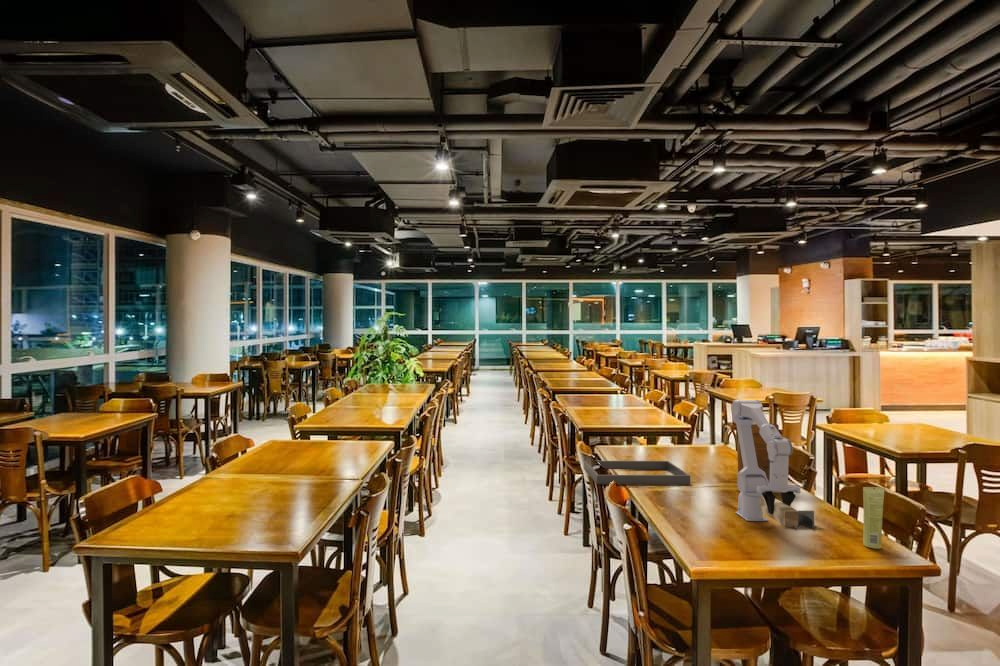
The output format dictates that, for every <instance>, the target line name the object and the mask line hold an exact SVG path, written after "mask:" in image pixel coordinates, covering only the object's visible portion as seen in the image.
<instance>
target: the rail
mask: <svg viewBox="0 0 1000 666" xmlns="http://www.w3.org/2000/svg"><path fill="white" fill-rule="evenodd" d="M759 510H760V511H761V512H763V515H766V516H768V517H769V518H771V519H773V520H774V521H775V522H777V523H779V524H780V525H781V524H782V525H781V526H783V527H791V526H796V527H799V525H798V511H799V510H797V509H795V508H794V507H792V506H791V505H790V506H788V505H786V504H785V503H783V502H782V501H780V500H779V499H777V497H776V498H775V502H774V513H773V514H770V513H768V508H767V504H766V501H765V499H764V497H763V496H760V509H759Z"/></svg>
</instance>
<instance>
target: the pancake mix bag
mask: <svg viewBox="0 0 1000 666" xmlns="http://www.w3.org/2000/svg"><path fill="white" fill-rule="evenodd" d="M771 424H772V425H774V426H775V427H776V429H777V430H778V431H779V424H778V423H771ZM751 429H752V435H753V441H754V446H755V452H756V458H757V463H758V467H759V468H760V469H761V470H763V471H764V472H765V473H766V477H767V479H768V481H770V460H769V458H768V451H767V444H766V442H765V441H764V439H763V438H762V436H761V435H760V433H759V431H760V428H759V427H758V426H757V424H756V423H753V424H752V425H751ZM736 448H737V453H736V454H737V456H736V457H737V459H736V460H737V474H738V473H739V471H741V470H742V469H743V468H744V467H743V461H742V455H741V449H740V443H739V437H738V436H737V447H736Z"/></svg>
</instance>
